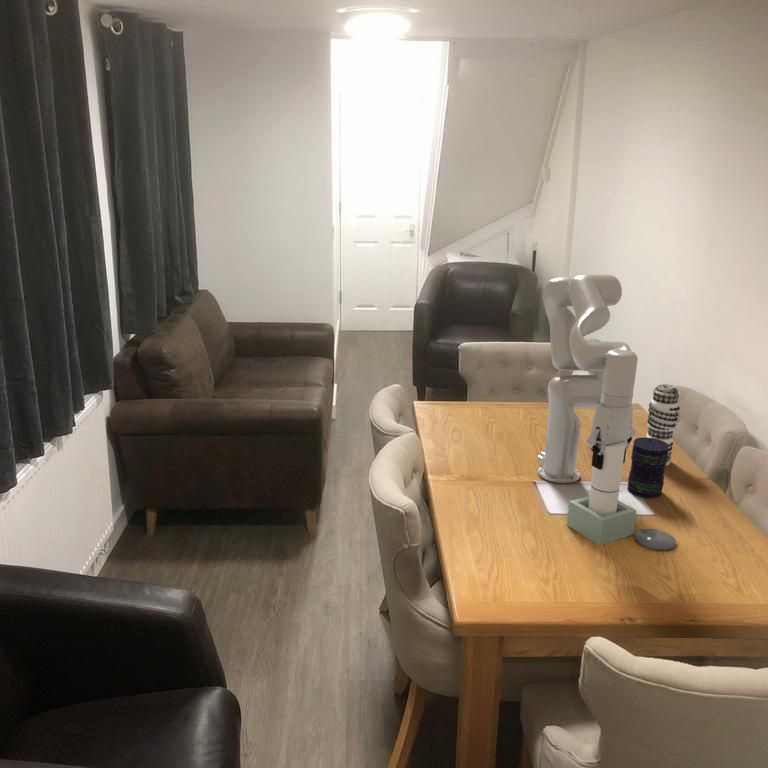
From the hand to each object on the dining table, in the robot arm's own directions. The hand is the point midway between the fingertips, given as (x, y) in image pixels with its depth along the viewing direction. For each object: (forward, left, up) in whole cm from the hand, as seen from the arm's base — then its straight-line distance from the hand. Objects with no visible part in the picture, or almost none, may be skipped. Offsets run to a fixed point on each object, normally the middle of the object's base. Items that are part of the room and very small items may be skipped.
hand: (608, 464), depth 200 cm
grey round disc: (+11, +9, -19) cm, 23 cm away
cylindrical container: (0, 0, -19) cm, 19 cm away
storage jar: (-11, +29, -19) cm, 36 cm away
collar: (0, 0, -19) cm, 19 cm away
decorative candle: (-25, +50, -19) cm, 59 cm away
